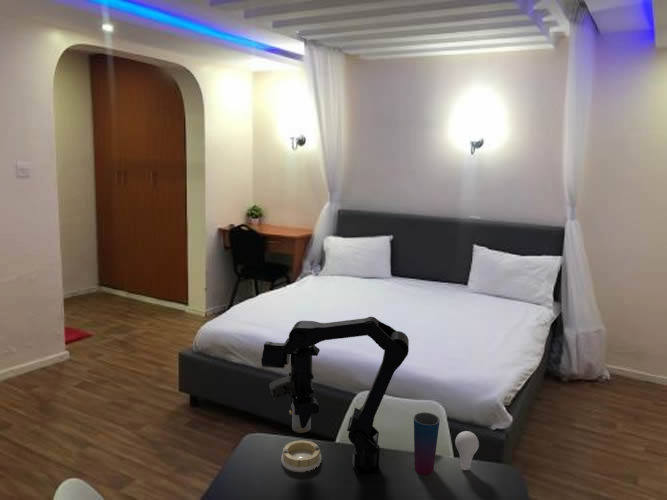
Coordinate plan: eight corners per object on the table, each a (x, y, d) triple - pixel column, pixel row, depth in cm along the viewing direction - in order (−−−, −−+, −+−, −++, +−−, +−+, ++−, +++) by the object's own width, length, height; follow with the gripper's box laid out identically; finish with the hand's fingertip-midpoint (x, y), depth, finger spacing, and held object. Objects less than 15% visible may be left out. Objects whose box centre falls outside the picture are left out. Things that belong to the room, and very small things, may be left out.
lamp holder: (317, 447, 160) (317, 436, 159) (324, 470, 149) (324, 457, 149) (279, 451, 158) (279, 439, 157) (283, 474, 147) (283, 462, 146)
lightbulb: (477, 477, 147) (480, 439, 145) (453, 474, 148) (456, 437, 146) (476, 464, 153) (478, 428, 150) (453, 461, 154) (455, 425, 152)
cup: (416, 478, 146) (419, 426, 143) (407, 463, 153) (410, 413, 150) (440, 475, 148) (443, 423, 145) (431, 461, 154) (433, 411, 151)
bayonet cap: (311, 421, 155) (311, 398, 153) (314, 431, 149) (314, 407, 148) (288, 424, 153) (288, 400, 152) (291, 434, 148) (291, 409, 147)
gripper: (268, 357, 155) (268, 409, 158) (274, 386, 137) (275, 443, 141) (307, 354, 158) (307, 405, 161) (319, 382, 140) (318, 439, 143)
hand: (301, 422), depth 151 cm, fingers closed on bayonet cap, 5 cm apart
